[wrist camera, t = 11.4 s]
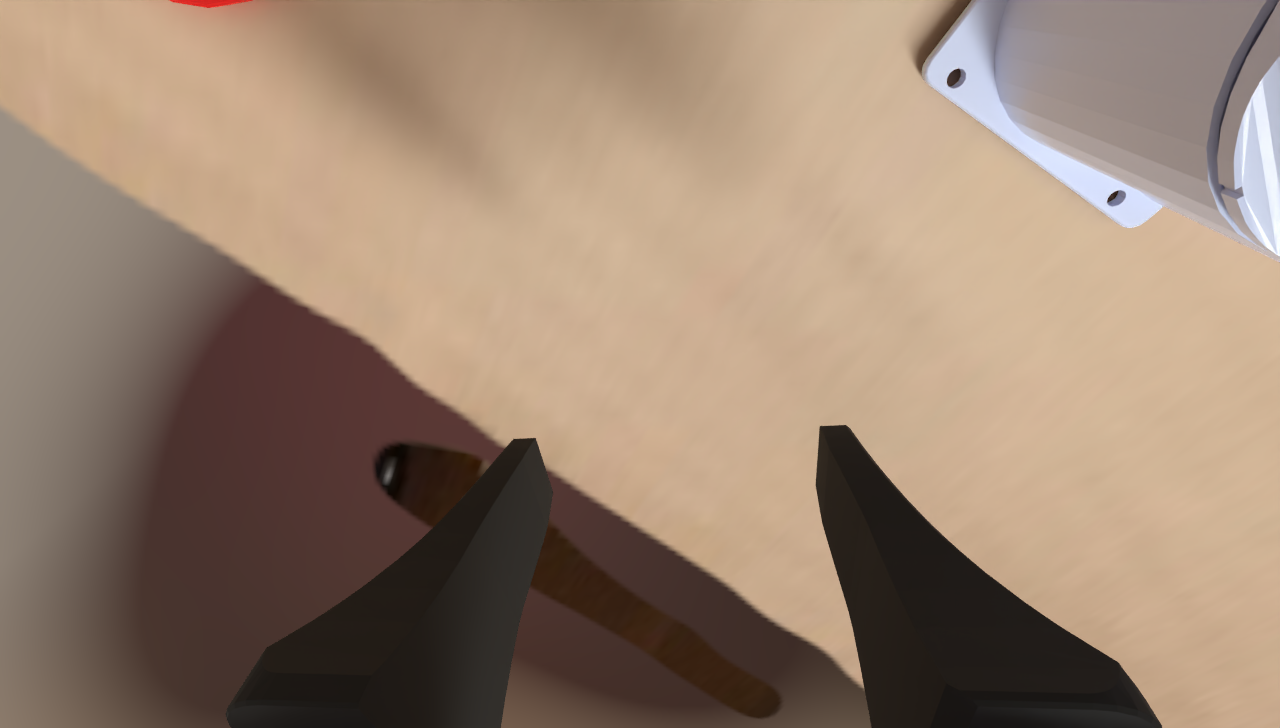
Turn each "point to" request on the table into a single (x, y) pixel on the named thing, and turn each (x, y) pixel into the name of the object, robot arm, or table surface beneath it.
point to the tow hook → (209, 2)
